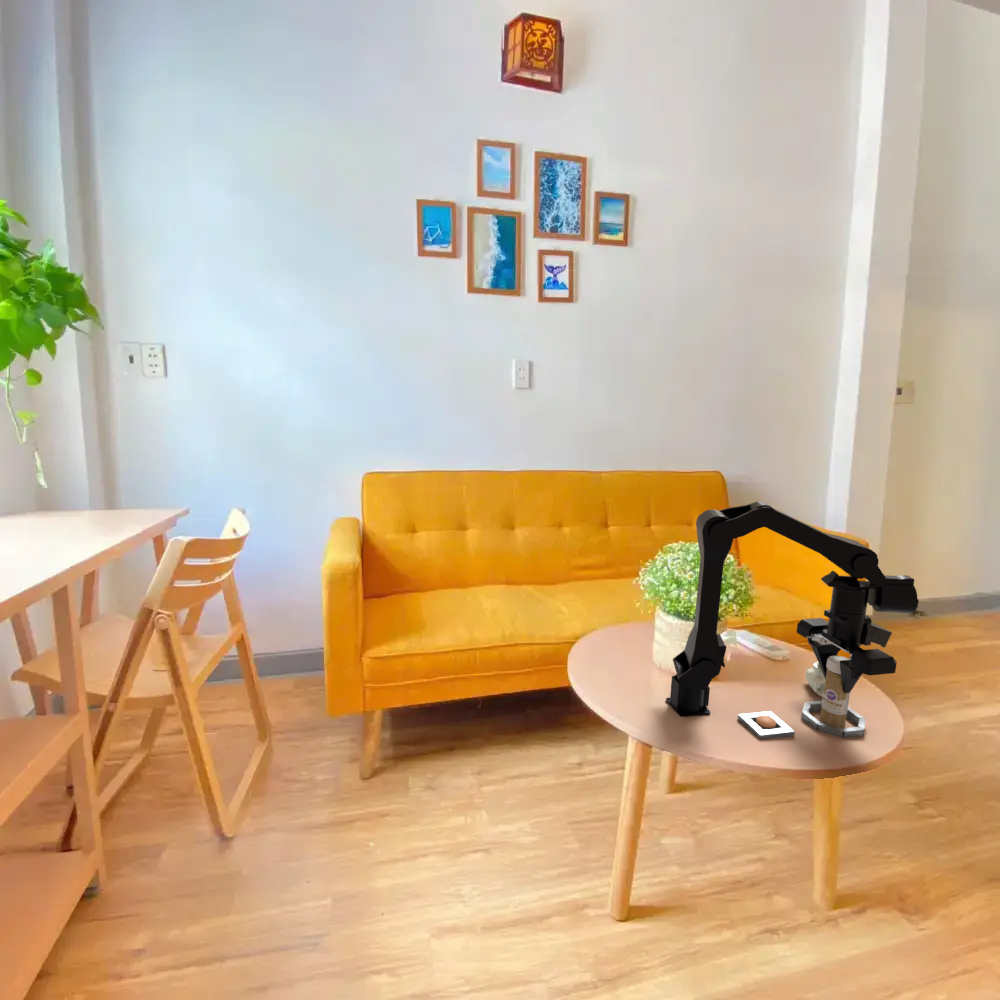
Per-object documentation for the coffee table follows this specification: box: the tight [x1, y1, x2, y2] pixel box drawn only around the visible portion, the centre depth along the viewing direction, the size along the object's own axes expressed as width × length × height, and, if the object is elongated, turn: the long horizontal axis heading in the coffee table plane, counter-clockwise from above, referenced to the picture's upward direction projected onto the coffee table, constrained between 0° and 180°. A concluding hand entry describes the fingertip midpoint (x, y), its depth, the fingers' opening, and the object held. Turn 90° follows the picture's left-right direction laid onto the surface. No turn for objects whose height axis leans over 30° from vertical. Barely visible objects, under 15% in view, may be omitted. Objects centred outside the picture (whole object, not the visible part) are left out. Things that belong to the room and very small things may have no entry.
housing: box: [737, 710, 796, 740], centre depth 112 cm, size 7×7×2 cm
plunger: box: [755, 716, 776, 730], centre depth 112 cm, size 3×3×2 cm
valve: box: [805, 634, 825, 698], centre depth 127 cm, size 7×7×12 cm
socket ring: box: [800, 700, 866, 739], centre depth 115 cm, size 10×10×2 cm
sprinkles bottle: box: [818, 655, 851, 729], centre depth 114 cm, size 5×5×14 cm
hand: (837, 686), depth 113 cm, fingers closed on sprinkles bottle, 4 cm apart
